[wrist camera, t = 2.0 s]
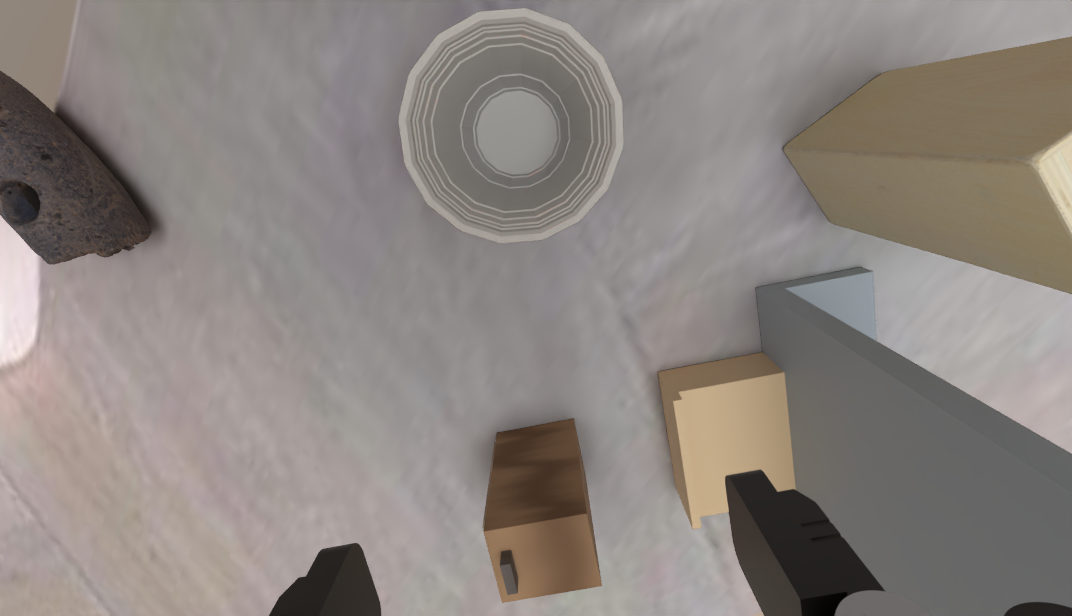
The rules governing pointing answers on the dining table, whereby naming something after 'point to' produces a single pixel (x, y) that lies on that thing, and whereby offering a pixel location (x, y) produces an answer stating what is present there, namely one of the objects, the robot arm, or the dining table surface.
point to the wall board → (877, 454)
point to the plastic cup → (511, 125)
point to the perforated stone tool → (59, 185)
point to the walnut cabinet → (540, 513)
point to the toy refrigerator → (956, 160)
